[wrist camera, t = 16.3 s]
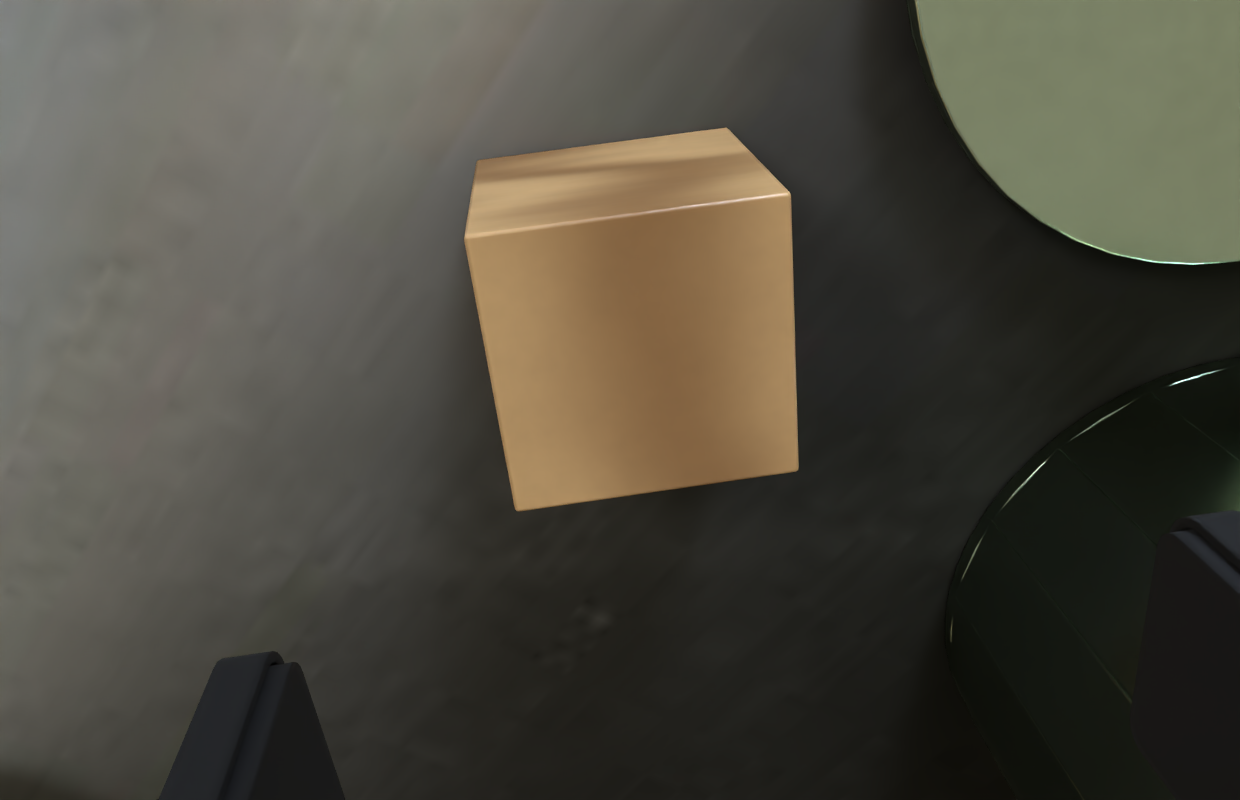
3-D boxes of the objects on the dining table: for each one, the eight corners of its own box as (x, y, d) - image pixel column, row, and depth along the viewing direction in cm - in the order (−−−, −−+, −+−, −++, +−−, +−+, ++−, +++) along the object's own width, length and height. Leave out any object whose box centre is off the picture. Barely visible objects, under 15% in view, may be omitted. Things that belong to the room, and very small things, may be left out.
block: (515, 387, 23) (515, 513, 18) (475, 159, 21) (462, 236, 16) (741, 356, 24) (799, 472, 19) (727, 126, 21) (791, 191, 16)
